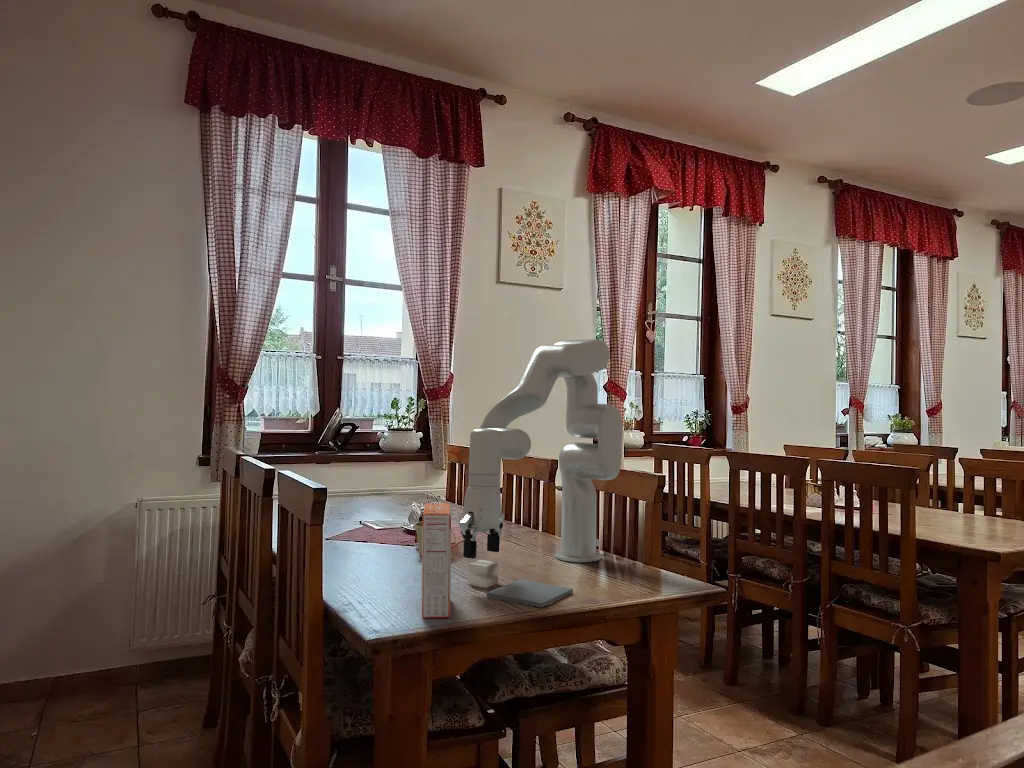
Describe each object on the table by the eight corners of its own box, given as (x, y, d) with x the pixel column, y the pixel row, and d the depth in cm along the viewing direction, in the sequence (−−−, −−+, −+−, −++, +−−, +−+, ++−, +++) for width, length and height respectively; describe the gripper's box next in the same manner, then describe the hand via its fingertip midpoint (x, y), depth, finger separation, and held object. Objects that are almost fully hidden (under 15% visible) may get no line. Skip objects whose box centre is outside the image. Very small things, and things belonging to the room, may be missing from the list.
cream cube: (480, 580, 173) (480, 559, 173) (497, 583, 171) (498, 562, 171) (468, 585, 169) (468, 563, 169) (485, 588, 166) (486, 566, 167)
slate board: (519, 583, 170) (519, 579, 170) (572, 593, 163) (572, 588, 163) (486, 597, 159) (486, 592, 159) (542, 608, 151) (542, 603, 151)
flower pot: (406, 556, 197) (407, 525, 197) (423, 550, 206) (424, 519, 206) (437, 560, 193) (438, 527, 194) (453, 553, 202) (453, 522, 202)
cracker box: (422, 599, 156) (424, 502, 157) (450, 599, 157) (452, 502, 157) (419, 619, 142) (421, 512, 143) (450, 618, 143) (452, 512, 143)
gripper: (491, 477, 179) (488, 547, 179) (449, 482, 165) (446, 558, 164) (516, 480, 176) (514, 551, 175) (476, 485, 161) (473, 562, 160)
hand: (481, 554), depth 169 cm, fingers open, 9 cm apart
